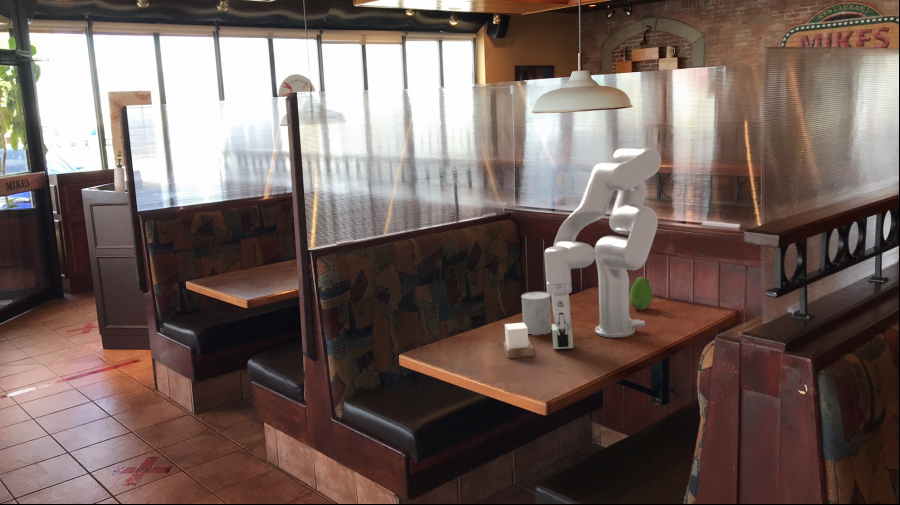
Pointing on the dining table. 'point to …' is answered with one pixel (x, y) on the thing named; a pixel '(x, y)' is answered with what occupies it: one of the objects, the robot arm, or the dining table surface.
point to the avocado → (641, 294)
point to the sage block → (555, 340)
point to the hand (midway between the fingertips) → (562, 342)
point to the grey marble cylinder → (536, 312)
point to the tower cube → (516, 335)
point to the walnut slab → (519, 351)
